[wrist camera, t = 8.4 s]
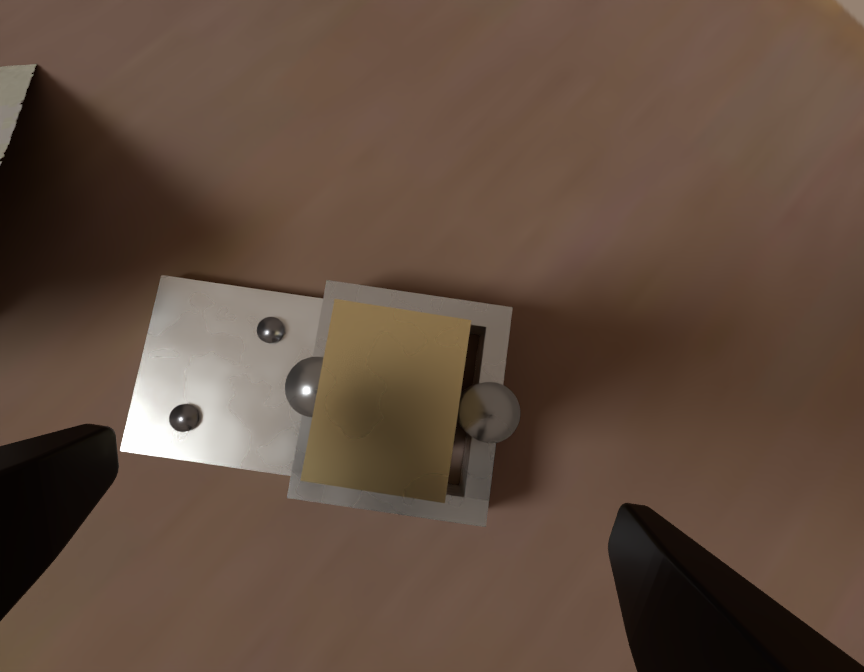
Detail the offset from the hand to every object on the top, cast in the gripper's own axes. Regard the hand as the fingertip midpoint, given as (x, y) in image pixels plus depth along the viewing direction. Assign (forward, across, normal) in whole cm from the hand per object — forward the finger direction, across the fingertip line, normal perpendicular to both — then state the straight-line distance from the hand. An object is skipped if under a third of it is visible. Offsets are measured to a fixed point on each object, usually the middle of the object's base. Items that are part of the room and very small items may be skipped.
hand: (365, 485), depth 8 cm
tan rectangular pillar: (+12, 0, +4) cm, 13 cm away
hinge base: (+12, +4, +4) cm, 13 cm away
